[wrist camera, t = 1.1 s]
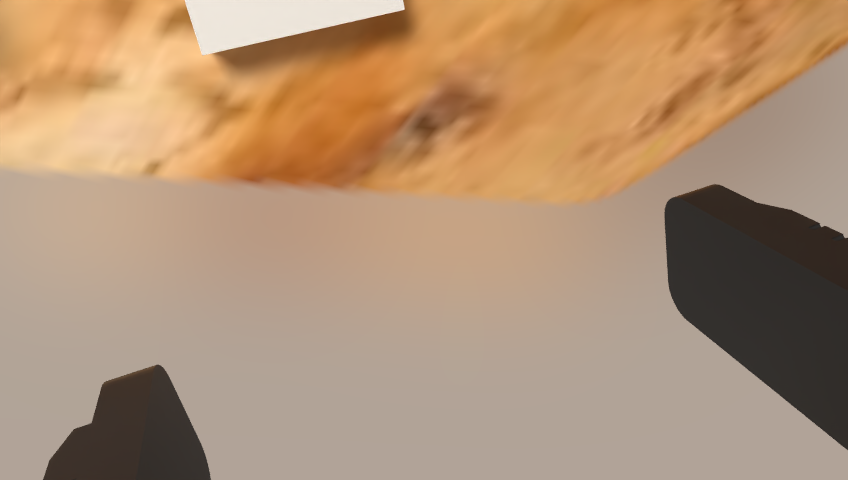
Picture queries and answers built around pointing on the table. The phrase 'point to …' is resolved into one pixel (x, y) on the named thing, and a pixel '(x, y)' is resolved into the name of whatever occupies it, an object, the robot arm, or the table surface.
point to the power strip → (273, 18)
